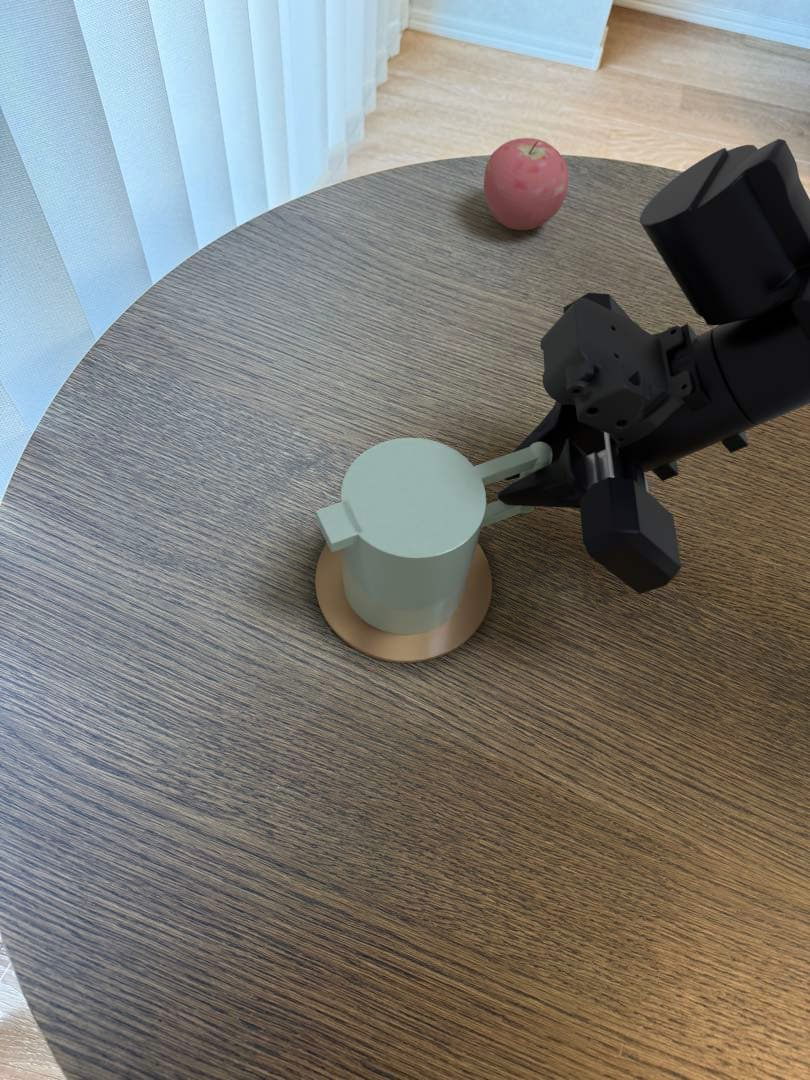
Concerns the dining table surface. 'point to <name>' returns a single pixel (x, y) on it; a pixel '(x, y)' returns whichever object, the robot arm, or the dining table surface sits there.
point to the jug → (416, 528)
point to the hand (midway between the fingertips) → (501, 486)
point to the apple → (525, 183)
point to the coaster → (396, 644)
